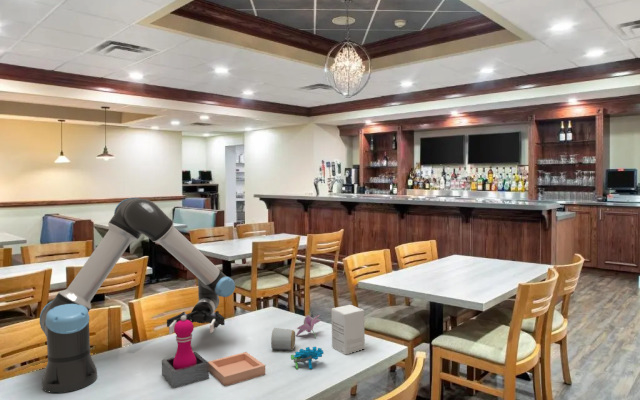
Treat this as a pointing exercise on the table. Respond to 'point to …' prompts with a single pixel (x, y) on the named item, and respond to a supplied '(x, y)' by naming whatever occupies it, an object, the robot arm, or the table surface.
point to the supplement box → (348, 329)
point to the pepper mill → (184, 344)
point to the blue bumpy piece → (307, 355)
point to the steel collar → (185, 372)
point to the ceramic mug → (282, 339)
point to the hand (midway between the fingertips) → (190, 329)
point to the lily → (308, 324)
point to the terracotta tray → (236, 368)
